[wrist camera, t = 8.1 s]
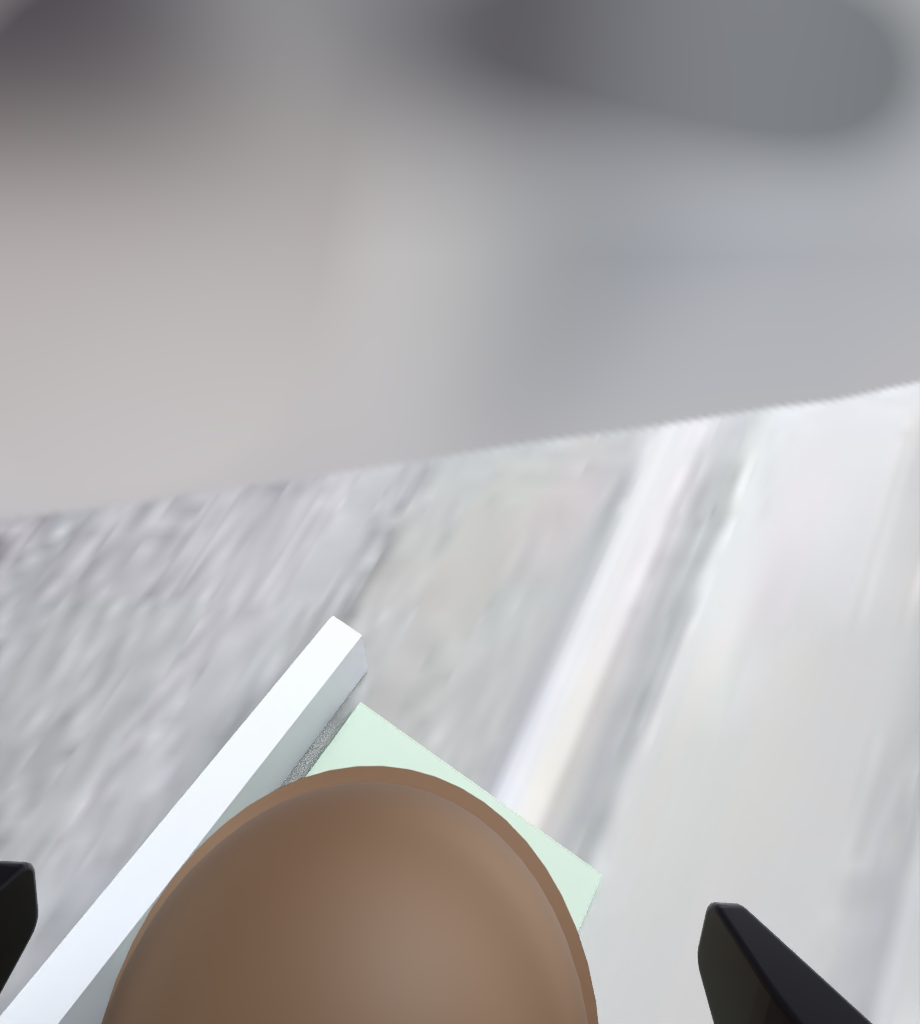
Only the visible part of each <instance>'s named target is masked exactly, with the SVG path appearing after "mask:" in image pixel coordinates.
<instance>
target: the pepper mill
mask: <svg viewBox="0 0 920 1024" xmlns="http://www.w3.org/2000/svg"><path fill="white" fill-rule="evenodd" d="M101 1024H598V1017H597V1008H596V1000H595V995H594V991H593V986H592V981H591V977H590V972H589V967H588V963H587V960H586V957H585V953H584V950H583V947H582V944H581V941H580V938H579V935H578V931H577V928H576V926H575V924H574V921H573V919H572V917H571V915H570V912H569V910H568V908H567V906H566V903H565V901H564V899H563V896H562V895H561V893H560V891H559V889H558V888H557V886H556V884H555V882H554V881H553V879H552V877H551V876H550V874H549V872H548V870H547V869H546V867H545V866H544V864H543V863H542V862H541V860H540V859H539V858H538V856H537V855H536V853H535V852H534V851H533V849H532V848H531V847H530V845H529V844H528V843H527V841H526V840H525V839H524V838H523V837H522V836H521V835H520V834H519V833H518V832H517V831H516V830H515V829H514V828H513V827H512V826H511V825H510V824H509V823H508V821H507V820H505V819H504V818H503V817H502V816H501V815H499V814H498V813H497V812H496V811H494V810H493V809H492V808H491V807H490V806H488V805H487V804H486V803H485V802H483V801H482V800H480V799H478V798H477V797H475V796H473V795H472V794H470V793H469V792H467V791H465V790H464V789H462V788H460V787H458V786H456V785H454V784H451V783H449V782H447V781H445V780H442V779H440V778H438V777H435V776H432V775H428V774H425V773H421V772H418V771H414V770H410V769H403V768H396V767H388V766H354V767H348V768H341V769H334V770H328V771H325V772H322V773H318V774H315V775H311V776H308V777H304V778H301V779H299V780H297V781H294V782H292V783H290V784H287V785H285V786H283V787H281V788H278V789H276V790H274V791H272V792H271V793H269V794H267V795H266V796H264V797H262V798H260V799H259V800H257V801H255V802H254V803H252V804H250V805H248V806H247V807H246V808H245V809H243V810H242V811H241V812H239V813H238V814H237V815H235V816H234V817H233V818H231V819H230V820H229V821H227V822H226V823H225V824H223V825H222V826H221V827H220V828H219V829H218V830H217V831H216V832H215V833H214V834H213V835H211V836H210V837H209V838H208V839H207V840H206V841H205V842H204V843H203V844H202V845H201V846H200V847H199V848H198V849H197V850H196V851H195V852H194V853H193V855H192V856H191V857H190V858H189V859H188V860H187V861H186V863H185V864H184V865H183V866H182V867H181V868H180V870H179V871H178V872H177V873H176V874H175V875H174V877H173V878H172V880H171V881H170V882H169V884H168V885H167V887H166V888H165V890H164V891H163V892H162V894H161V895H160V897H159V898H158V900H157V901H156V903H155V904H154V905H153V907H152V908H151V910H150V912H149V914H148V916H147V917H146V919H145V921H144V923H143V925H142V926H141V928H140V930H139V932H138V933H137V935H136V937H135V939H134V941H133V942H132V945H131V947H130V949H129V951H128V954H127V956H126V958H125V960H124V963H123V965H122V967H121V969H120V972H119V974H118V976H117V978H116V981H115V984H114V987H113V990H112V993H111V996H110V999H109V1002H108V1005H107V1008H106V1011H105V1014H104V1017H103V1020H102V1023H101Z"/></svg>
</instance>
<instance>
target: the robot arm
mask: <svg viewBox="0 0 920 1024" xmlns="http://www.w3.org/2000/svg"><path fill="white" fill-rule="evenodd" d="M37 919H38V902H37V891H36V880H35V871H34V868H33V866H32V865H31V864H30V863H27V862H12V861H0V993H1V992H2V990H3V988H4V986H5V984H6V982H7V980H8V979H9V977H10V975H11V973H12V971H13V969H14V968H15V966H16V964H17V962H18V960H19V958H20V957H21V955H22V953H23V951H24V949H25V947H26V946H27V944H28V942H29V940H30V938H31V936H32V934H33V932H34V929H35V927H36V923H37ZM698 965H699V971H700V975H701V978H702V982H703V986H704V989H705V993H706V996H707V1000H708V1004H709V1007H710V1011H711V1015H712V1018H713V1022H714V1024H872V1023H871V1022H870V1021H869V1020H868V1019H867V1018H865V1017H864V1016H863V1015H862V1014H861V1013H860V1012H859V1011H858V1010H857V1009H856V1008H854V1007H853V1006H852V1005H851V1004H850V1003H849V1002H848V1001H847V1000H846V999H845V998H844V997H842V996H841V995H840V994H839V993H838V992H837V991H836V990H835V989H834V988H833V987H831V986H830V985H829V984H828V983H827V982H826V981H825V980H824V979H823V978H822V977H821V976H819V975H818V974H817V973H816V972H815V971H814V970H813V969H812V968H811V967H810V966H808V965H807V964H806V963H805V962H804V961H803V960H802V959H801V958H800V957H799V956H797V955H796V954H795V953H794V952H793V951H792V950H791V949H790V948H789V947H788V946H787V945H785V944H784V943H783V942H782V941H781V940H780V939H779V938H778V937H777V936H776V935H774V934H773V933H772V932H771V931H770V930H769V929H768V928H767V927H766V926H765V925H763V924H762V923H761V922H760V921H759V920H758V919H757V918H756V917H755V916H754V915H753V914H751V913H750V912H749V911H748V910H747V909H746V908H744V907H743V906H741V905H739V904H735V903H719V902H714V903H711V904H710V905H709V906H708V908H707V911H706V914H705V919H704V924H703V928H702V933H701V937H700V942H699V946H698Z"/></svg>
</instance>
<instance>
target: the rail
mask: <svg viewBox="0 0 920 1024" xmlns="http://www.w3.org/2000/svg"><path fill="white" fill-rule="evenodd" d="M367 670H368V664H367V659H366V654H365V649H364V643H363V638H362V635H361V634H359V633H358V632H356V631H355V630H353V629H352V628H350V627H349V626H347V625H346V624H344V623H343V622H341V621H340V620H339V619H337V618H336V617H334V616H332V617H331V618H330V619H329V620H328V622H327V623H326V624H325V625H324V626H323V628H322V629H321V630H320V631H319V632H318V634H317V635H316V636H315V637H314V638H313V640H312V641H311V642H310V643H309V644H308V646H307V647H306V648H305V649H304V651H303V652H302V653H301V654H300V655H299V657H298V658H297V659H296V660H295V661H294V663H293V664H292V665H291V666H290V667H289V669H288V670H287V671H286V672H285V673H284V675H283V676H282V677H281V678H280V679H279V681H278V682H277V683H276V684H275V685H274V687H273V688H272V689H271V690H270V692H269V693H268V694H267V695H266V696H265V698H264V699H263V700H262V701H261V702H260V704H259V705H258V706H257V707H256V708H255V710H254V711H253V712H252V713H251V714H250V716H249V717H248V718H247V719H246V720H245V722H244V723H243V724H242V725H241V726H240V728H239V729H238V730H237V731H236V732H235V734H234V735H233V736H232V737H231V739H230V740H229V741H228V742H227V743H226V745H225V746H224V747H223V748H222V749H221V751H220V752H219V753H218V754H217V755H216V757H215V758H214V759H213V760H212V761H211V763H210V764H209V765H208V766H207V767H206V769H205V770H204V771H203V772H202V773H201V775H200V776H199V777H198V778H197V779H196V781H195V782H194V783H193V784H192V786H191V787H190V788H189V789H188V790H187V792H186V793H185V794H184V795H183V796H182V798H181V799H180V800H179V801H178V802H177V804H176V805H175V806H174V807H173V808H172V810H171V811H170V812H169V813H168V814H167V816H166V817H165V818H164V819H163V820H162V822H161V823H160V824H159V825H158V827H157V828H156V829H155V830H154V831H153V833H152V834H151V835H150V836H149V837H148V839H147V840H146V841H145V842H144V843H143V845H142V846H141V847H140V848H139V849H138V851H137V852H136V853H135V854H134V855H133V857H132V858H131V859H130V860H129V861H128V863H127V864H126V865H125V866H124V867H123V869H122V870H121V871H120V872H119V874H118V875H117V876H116V877H115V878H114V880H113V881H112V882H111V883H110V884H109V886H108V887H107V888H106V889H105V890H104V892H103V893H102V894H101V895H100V896H99V898H98V899H97V900H96V901H95V902H94V904H93V905H92V906H91V907H90V908H89V910H88V911H87V912H86V913H85V915H84V916H83V917H82V918H81V919H80V921H79V922H78V923H77V924H76V925H75V927H74V928H73V929H72V930H71V931H70V933H69V934H68V935H67V936H66V937H65V939H64V940H63V941H62V942H61V943H60V945H59V946H58V947H57V948H56V949H55V951H54V952H53V953H52V954H51V955H50V957H49V958H48V959H47V960H46V962H45V963H44V964H43V965H42V966H41V968H40V969H39V970H38V971H37V972H36V974H35V975H34V976H33V977H32V978H31V980H30V981H29V982H28V983H27V984H26V986H25V987H24V988H23V989H22V990H21V992H20V993H19V994H18V995H17V996H16V998H15V999H14V1000H13V1001H12V1003H11V1004H10V1005H9V1006H8V1007H7V1009H6V1010H5V1011H4V1012H3V1013H2V1015H1V1016H0V1024H101V1023H102V1020H103V1017H104V1014H105V1011H106V1008H107V1005H108V1002H109V999H110V996H111V993H112V990H113V987H114V984H115V981H116V978H117V976H118V974H119V972H120V969H121V967H122V965H123V963H124V960H125V958H126V956H127V954H128V951H129V949H130V947H131V945H132V942H133V941H134V939H135V937H136V935H137V933H138V932H139V930H140V928H141V926H142V925H143V923H144V921H145V919H146V917H147V916H148V914H149V912H150V910H151V908H152V907H153V905H154V904H155V903H156V901H157V900H158V898H159V897H160V895H161V894H162V892H163V891H164V890H165V888H166V887H167V885H168V884H169V882H170V881H171V880H172V878H173V877H174V875H175V874H176V873H177V872H178V871H179V870H180V868H181V867H182V866H183V865H184V864H185V863H186V861H187V860H188V859H189V858H190V857H191V856H192V855H193V853H194V852H195V851H196V850H197V849H198V848H199V847H200V846H201V845H202V844H203V843H204V842H205V841H206V840H207V839H208V838H209V837H210V836H211V835H213V834H214V833H215V832H216V831H217V830H218V829H219V828H220V827H221V826H222V825H223V824H225V823H226V822H227V821H229V820H230V819H231V818H233V817H234V816H235V815H237V814H238V813H239V812H241V811H242V810H243V809H245V808H246V807H247V806H248V805H250V804H252V803H254V802H255V801H257V800H259V799H260V798H262V797H264V796H266V795H267V794H269V793H271V792H272V791H274V790H276V789H278V788H279V787H280V786H281V785H282V783H283V782H284V781H285V779H286V778H287V777H288V775H289V774H290V773H291V772H292V770H293V769H294V768H295V766H296V765H297V764H298V762H299V761H300V760H301V758H302V757H303V756H304V754H305V753H306V752H307V750H308V749H309V748H310V746H311V745H312V744H313V742H314V741H315V740H316V738H317V737H318V736H319V734H320V733H321V732H322V730H323V729H324V728H325V726H326V725H327V724H328V722H329V721H330V720H331V718H332V717H333V716H334V714H335V713H336V712H337V710H338V709H339V708H340V706H341V705H342V704H343V702H344V701H345V700H346V698H347V697H348V696H349V694H350V693H351V692H352V690H353V689H354V688H355V686H356V685H357V684H358V682H359V681H360V680H361V678H362V677H363V676H364V674H365V673H366V672H367Z"/></svg>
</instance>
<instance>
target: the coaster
mask: <svg viewBox="0 0 920 1024" xmlns="http://www.w3.org/2000/svg"><path fill="white" fill-rule="evenodd" d="M354 766H388V767H396V768H403V769H410V770H414V771H418V772H421V773H425V774H428V775H432V776H435V777H438V778H440V779H442V780H445V781H447V782H449V783H451V784H454V785H456V786H458V787H460V788H462V789H464V790H465V791H467V792H469V793H470V794H472V795H473V796H475V797H477V798H478V799H480V800H482V801H483V802H485V803H486V804H487V805H488V806H490V807H491V808H492V809H493V810H494V811H496V812H497V813H498V814H499V815H501V816H502V817H503V818H504V819H505V820H507V821H508V823H509V824H510V825H511V826H512V827H513V828H514V829H515V830H516V831H517V832H518V833H519V834H520V835H521V836H522V837H523V838H524V839H525V840H526V841H527V843H528V844H529V845H530V847H531V848H532V849H533V851H534V852H535V853H536V855H537V856H538V858H539V859H540V860H541V862H542V863H543V864H544V866H545V867H546V869H547V870H548V872H549V874H550V876H551V877H552V879H553V881H554V882H555V884H556V886H557V888H558V889H559V891H560V893H561V895H562V896H563V899H564V901H565V903H566V906H567V908H568V910H569V912H570V915H571V917H572V919H573V921H574V924H575V926H576V928H577V931H579V929H580V926H581V924H582V922H583V919H584V917H585V915H586V912H587V910H588V908H589V905H590V903H591V901H592V898H593V896H594V894H595V891H596V889H597V887H598V885H599V882H600V880H601V878H602V874H601V873H599V872H598V871H597V870H595V869H594V868H592V867H591V866H590V865H588V864H587V863H585V862H584V861H583V860H581V859H580V858H578V857H577V856H576V855H574V854H573V853H571V852H570V851H569V850H567V849H566V848H564V847H563V846H562V845H560V844H559V843H557V842H556V841H554V840H553V839H552V838H550V837H549V836H547V835H546V834H545V833H543V832H542V831H540V830H539V829H538V828H536V827H535V826H533V825H532V824H531V823H529V822H528V821H526V820H525V819H524V818H522V817H521V816H519V815H518V814H517V813H515V812H514V811H512V810H511V809H510V808H508V807H507V806H505V805H504V804H503V803H501V802H500V801H498V800H497V799H496V798H494V797H493V796H491V795H490V794H489V793H487V792H486V791H484V790H483V789H482V788H480V787H479V786H477V785H476V784H475V783H473V782H472V781H470V780H469V779H468V778H466V777H465V776H463V775H462V774H461V773H459V772H458V771H456V770H455V769H454V768H452V767H451V766H449V765H448V764H447V763H445V762H444V761H442V760H441V759H440V758H438V757H437V756H435V755H434V754H433V753H431V752H430V751H428V750H427V749H425V748H424V747H423V746H421V745H420V744H418V743H417V742H416V741H414V740H413V739H411V738H410V737H409V736H407V735H406V734H404V733H403V732H402V731H400V730H399V729H397V728H396V727H395V726H393V725H392V724H390V723H389V722H388V721H386V720H385V719H383V718H382V717H381V716H379V715H378V714H376V713H375V712H374V711H372V710H371V709H369V708H368V707H367V706H365V705H364V704H362V703H361V702H360V703H359V705H358V706H357V707H356V709H355V710H354V711H353V713H352V714H351V716H350V717H349V718H348V720H347V721H346V722H345V724H344V725H343V726H342V728H341V729H340V731H339V732H338V733H337V735H336V736H335V737H334V739H333V740H332V741H331V743H330V744H329V746H328V747H327V748H326V750H325V751H324V752H323V754H322V755H321V756H320V758H319V759H318V761H317V762H316V763H315V765H314V766H313V767H312V769H311V770H310V771H309V773H308V774H307V775H306V777H308V776H311V775H315V774H318V773H322V772H325V771H328V770H334V769H341V768H348V767H354Z"/></svg>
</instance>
